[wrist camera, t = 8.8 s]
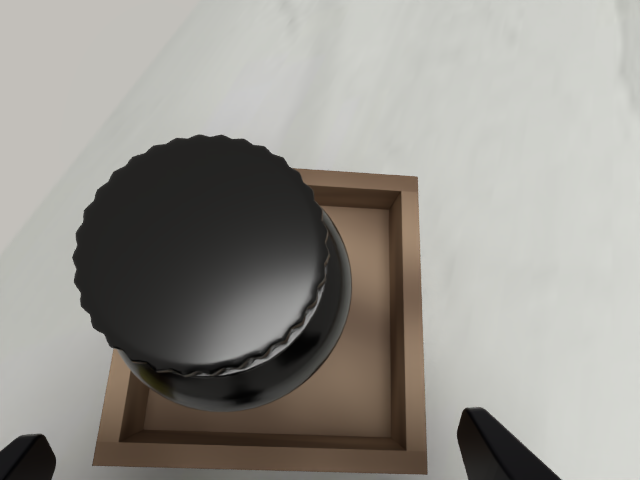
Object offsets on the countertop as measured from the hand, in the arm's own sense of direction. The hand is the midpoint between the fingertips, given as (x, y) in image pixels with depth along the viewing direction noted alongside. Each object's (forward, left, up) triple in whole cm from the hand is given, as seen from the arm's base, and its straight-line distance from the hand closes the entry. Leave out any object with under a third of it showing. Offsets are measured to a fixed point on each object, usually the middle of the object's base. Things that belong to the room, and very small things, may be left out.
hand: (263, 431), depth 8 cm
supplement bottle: (+4, +1, -10) cm, 11 cm away
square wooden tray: (+4, 0, -13) cm, 13 cm away
